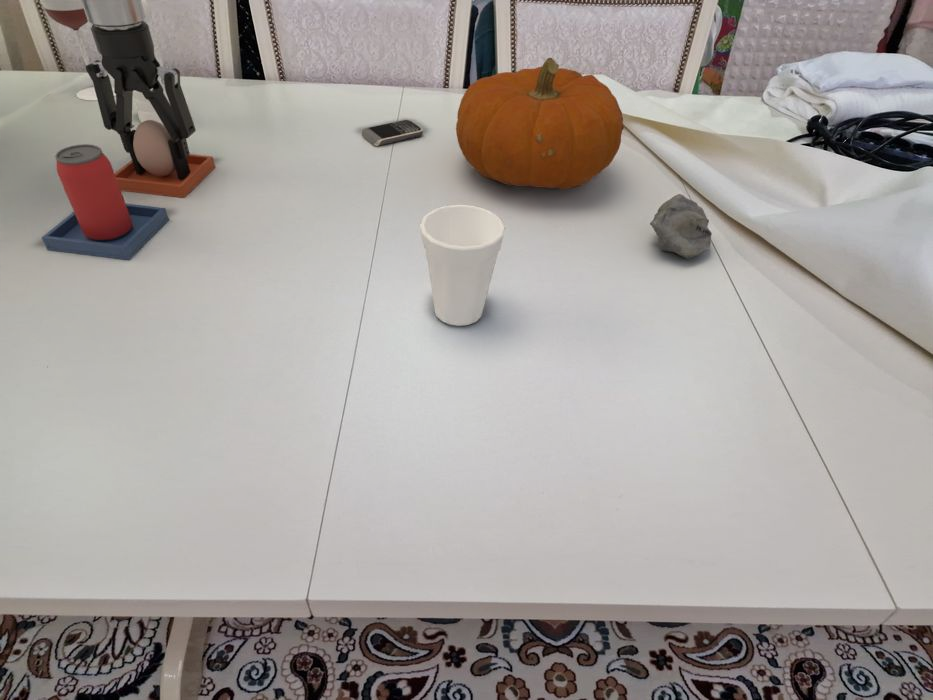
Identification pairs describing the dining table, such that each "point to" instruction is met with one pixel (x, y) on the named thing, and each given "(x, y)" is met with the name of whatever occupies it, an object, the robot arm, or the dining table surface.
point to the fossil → (682, 227)
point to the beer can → (93, 192)
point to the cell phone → (392, 132)
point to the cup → (461, 259)
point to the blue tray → (143, 228)
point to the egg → (153, 148)
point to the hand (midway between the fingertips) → (163, 173)
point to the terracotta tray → (165, 178)
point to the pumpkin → (539, 127)
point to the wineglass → (69, 11)
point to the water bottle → (141, 102)
